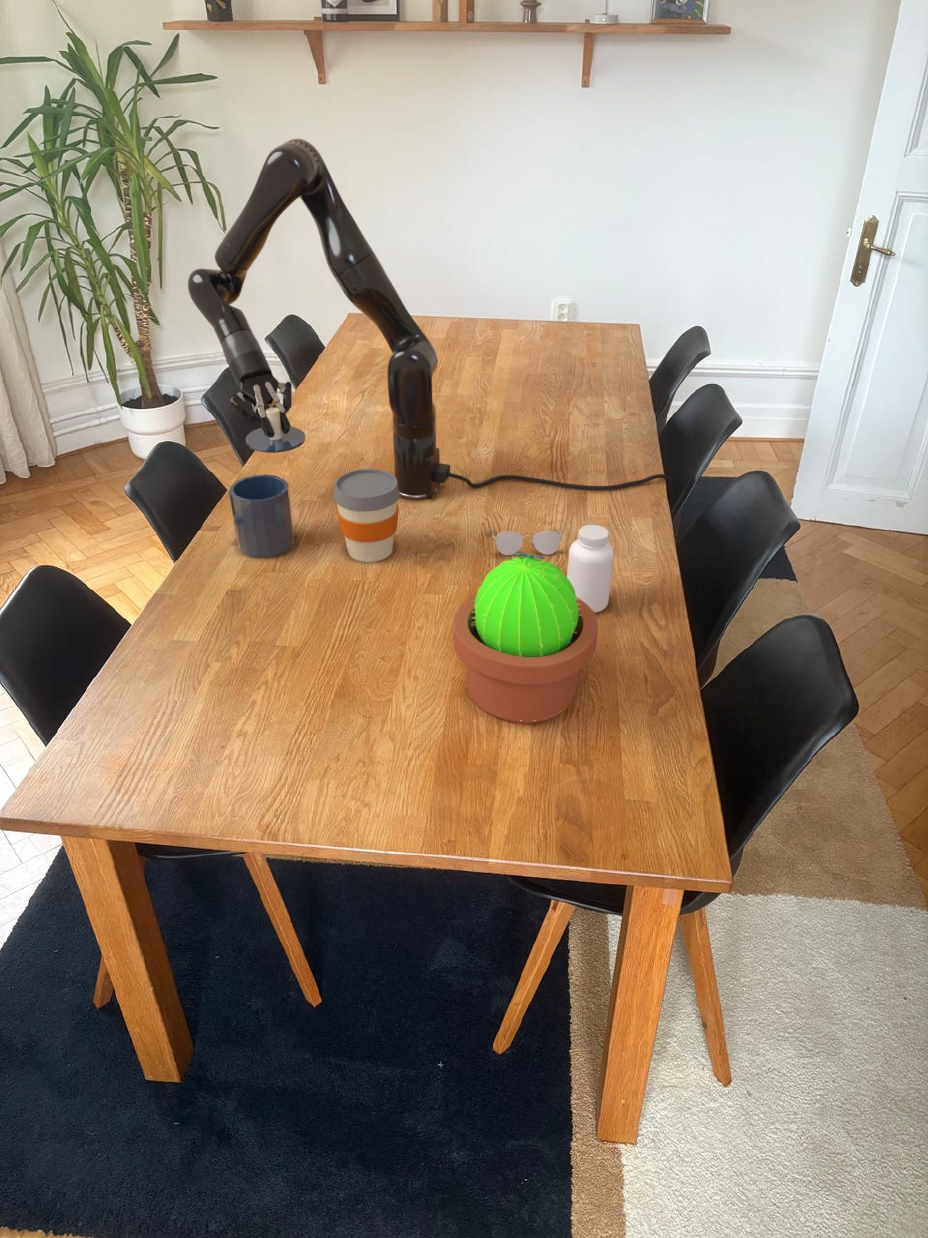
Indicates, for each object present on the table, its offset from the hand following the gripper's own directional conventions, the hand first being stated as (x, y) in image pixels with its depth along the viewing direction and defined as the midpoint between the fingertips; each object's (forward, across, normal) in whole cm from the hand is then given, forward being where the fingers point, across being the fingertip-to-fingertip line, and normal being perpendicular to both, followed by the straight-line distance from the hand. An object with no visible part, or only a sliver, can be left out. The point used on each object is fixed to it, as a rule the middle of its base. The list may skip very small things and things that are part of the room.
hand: (279, 433), depth 194 cm
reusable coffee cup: (+30, +5, -6) cm, 31 cm away
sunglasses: (+42, +32, -18) cm, 55 cm away
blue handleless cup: (+20, -10, +4) cm, 23 cm away
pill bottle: (+58, +27, -34) cm, 72 cm away
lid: (0, 0, +3) cm, 3 cm away
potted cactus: (+67, +2, -42) cm, 79 cm away
